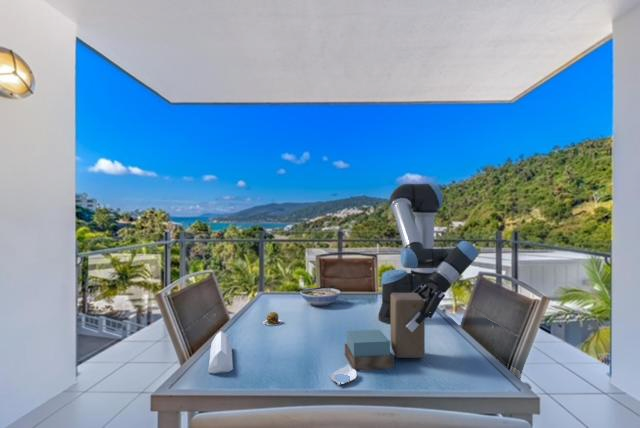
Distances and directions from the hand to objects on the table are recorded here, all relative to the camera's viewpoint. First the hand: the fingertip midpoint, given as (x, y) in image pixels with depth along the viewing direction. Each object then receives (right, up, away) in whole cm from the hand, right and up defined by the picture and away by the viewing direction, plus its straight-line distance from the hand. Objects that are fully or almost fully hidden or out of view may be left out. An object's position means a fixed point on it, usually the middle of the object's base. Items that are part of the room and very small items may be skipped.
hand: (401, 323), depth 122 cm
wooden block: (+2, -10, +1) cm, 11 cm away
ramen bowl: (-28, -13, +76) cm, 82 cm away
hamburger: (-50, -13, +41) cm, 66 cm away
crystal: (-62, -12, -2) cm, 63 cm away
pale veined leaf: (-21, -12, -16) cm, 29 cm away
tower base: (-12, -12, -3) cm, 17 cm away
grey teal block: (-12, -8, -3) cm, 15 cm away
